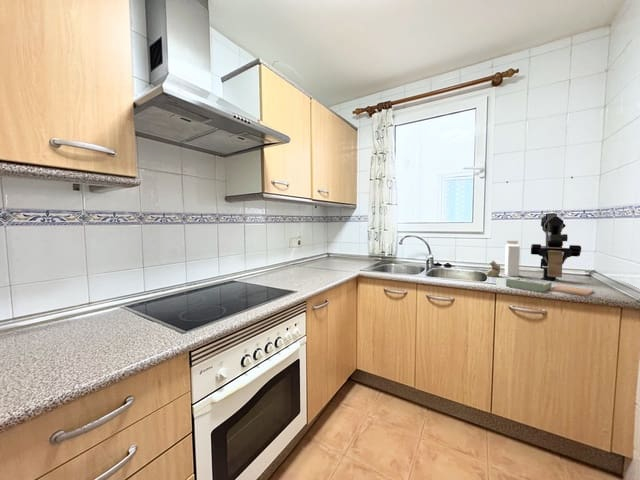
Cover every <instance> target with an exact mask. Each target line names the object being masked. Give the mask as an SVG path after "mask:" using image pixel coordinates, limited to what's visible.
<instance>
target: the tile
mask: <svg viewBox="0 0 640 480" xmlns="http://www.w3.org/2000/svg"><path fill="white" fill-rule="evenodd" d="M548 291H551V292H557V291H558V292H559V293H563V292H565V294H570V293H571V294H570V295H577V296H583V297H587V296H589V295H590V294H592V293H594V291H595V290H594V289H590V288H589V289H588V288H583V287H576V286H575V287H574V286H568V285H562V284H561V285H560V284H558V285H555V286H552V288H550V289H548Z"/></svg>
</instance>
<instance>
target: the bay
mask: <svg viewBox="0 0 640 480" xmlns="http://www.w3.org/2000/svg"><path fill="white" fill-rule="evenodd" d="M505 279H506V281H505V287H509V288H515V289H520V290H527V291H532V292H533V291H534V292H540V293H543V292H545V291H547V290H548V291H549V289H550V288H552V287H553V286H552V285H553V284H552V283H553V282H552V281H546V282H543V283H542V282H536V281H533V282H530V281H531V280H524V279H522V280H521V277H514V278H508V277H507V278H505Z"/></svg>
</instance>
